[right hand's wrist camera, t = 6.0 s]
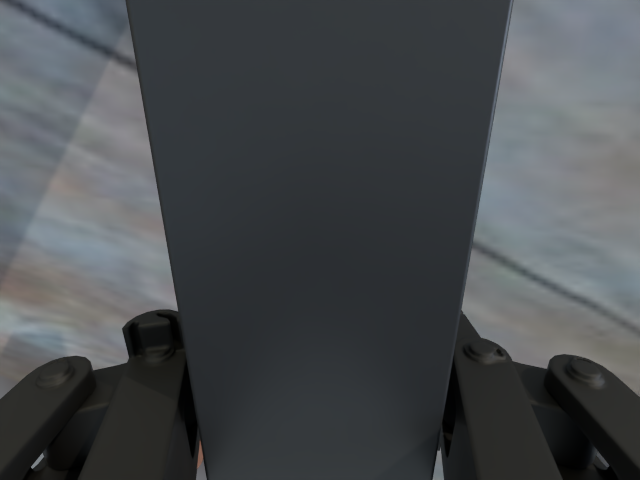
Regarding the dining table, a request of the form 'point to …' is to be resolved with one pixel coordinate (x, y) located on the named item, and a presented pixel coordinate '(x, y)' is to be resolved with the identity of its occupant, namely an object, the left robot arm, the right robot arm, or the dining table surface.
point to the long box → (319, 218)
